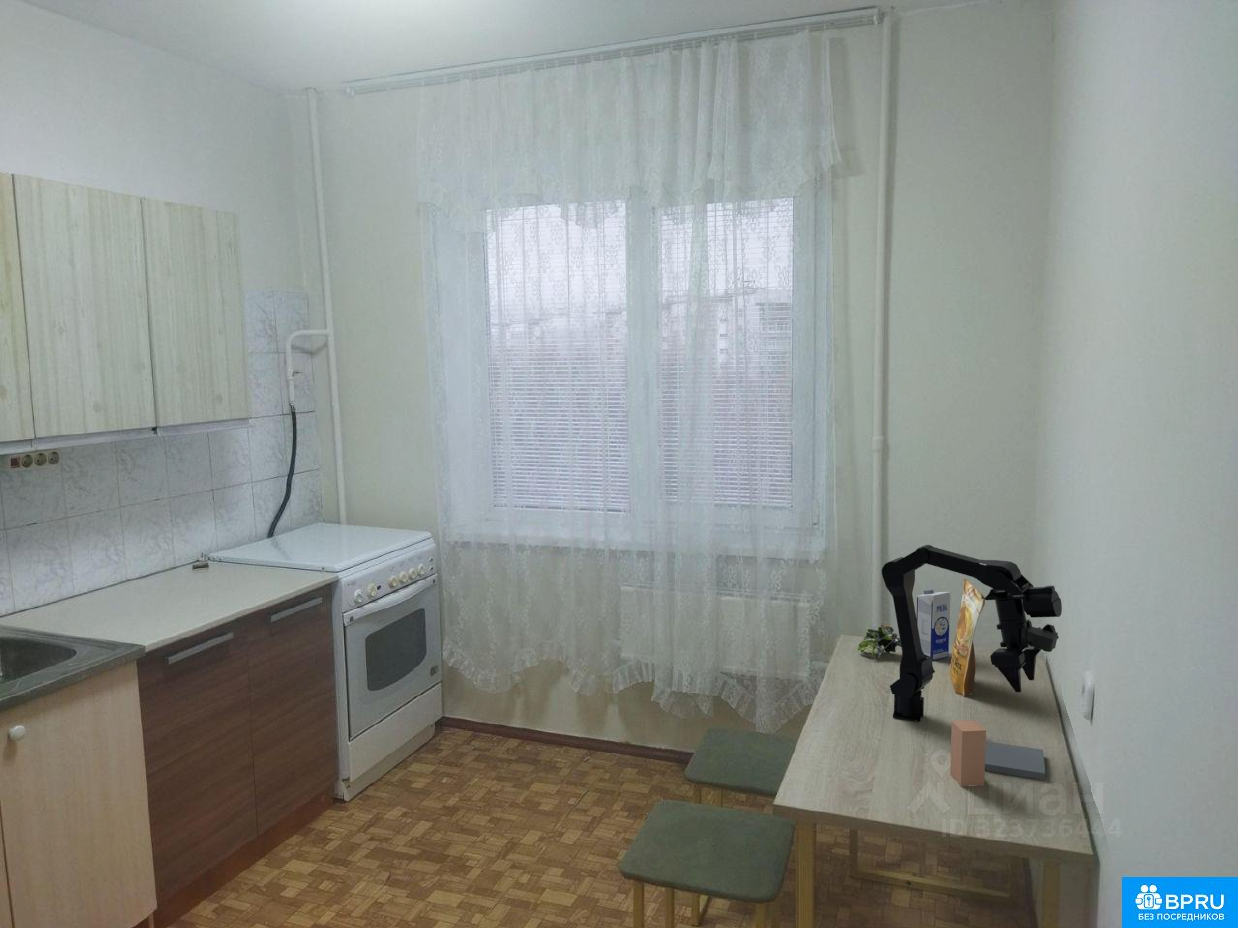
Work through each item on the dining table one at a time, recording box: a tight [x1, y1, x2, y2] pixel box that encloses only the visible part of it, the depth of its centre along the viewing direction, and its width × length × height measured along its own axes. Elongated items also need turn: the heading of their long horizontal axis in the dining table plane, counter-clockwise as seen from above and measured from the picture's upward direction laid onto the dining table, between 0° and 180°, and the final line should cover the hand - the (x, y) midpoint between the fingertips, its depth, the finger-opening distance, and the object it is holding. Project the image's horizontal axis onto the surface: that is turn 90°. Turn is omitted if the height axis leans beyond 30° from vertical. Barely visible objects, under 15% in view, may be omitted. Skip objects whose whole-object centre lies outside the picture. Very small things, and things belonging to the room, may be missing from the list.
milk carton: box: [915, 589, 951, 662], centre depth 257 cm, size 7×7×20 cm
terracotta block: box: [949, 720, 987, 787], centre depth 181 cm, size 5×5×12 cm
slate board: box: [985, 740, 1046, 781], centre depth 189 cm, size 12×12×2 cm
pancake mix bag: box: [949, 577, 986, 697], centre depth 232 cm, size 7×19×28 cm, turn 165°
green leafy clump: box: [857, 624, 901, 661], centre depth 258 cm, size 11×11×12 cm
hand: (1025, 685), depth 195 cm, fingers open, 9 cm apart
